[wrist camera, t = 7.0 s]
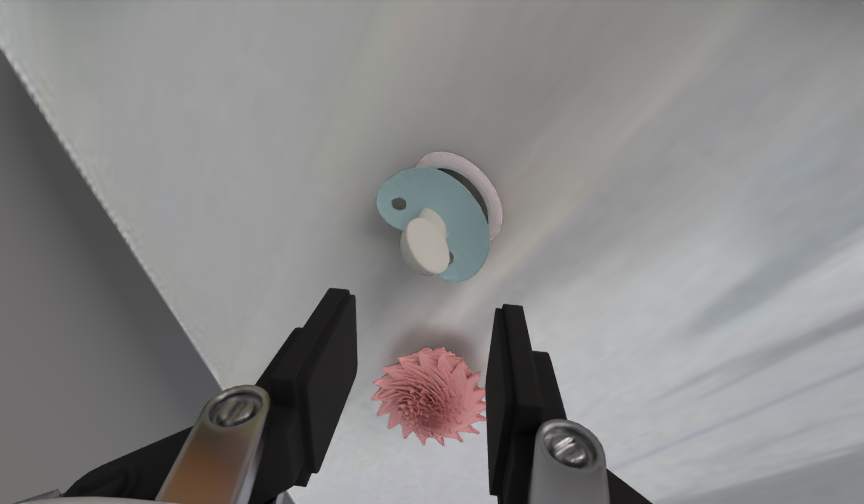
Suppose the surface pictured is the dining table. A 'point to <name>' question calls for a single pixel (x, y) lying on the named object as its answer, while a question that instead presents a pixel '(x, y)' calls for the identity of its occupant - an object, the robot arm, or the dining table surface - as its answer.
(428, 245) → the pacifier
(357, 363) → the robot arm
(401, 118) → the dining table surface
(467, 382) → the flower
